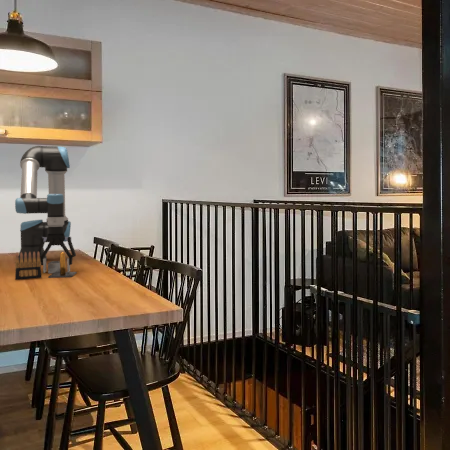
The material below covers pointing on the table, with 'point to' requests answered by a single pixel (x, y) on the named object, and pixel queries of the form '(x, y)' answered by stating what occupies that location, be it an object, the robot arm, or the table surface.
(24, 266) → the ammunition clip
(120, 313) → the table surface
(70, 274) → the keeper
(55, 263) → the grey square block
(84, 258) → the table surface
